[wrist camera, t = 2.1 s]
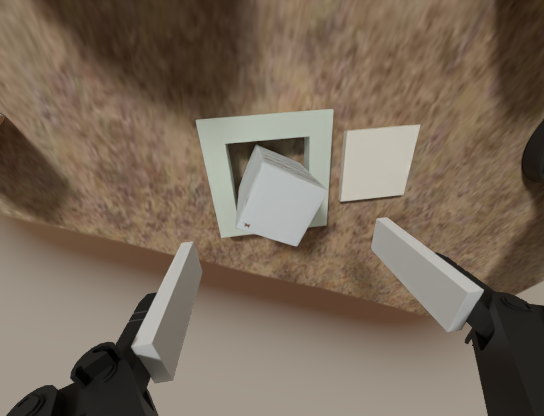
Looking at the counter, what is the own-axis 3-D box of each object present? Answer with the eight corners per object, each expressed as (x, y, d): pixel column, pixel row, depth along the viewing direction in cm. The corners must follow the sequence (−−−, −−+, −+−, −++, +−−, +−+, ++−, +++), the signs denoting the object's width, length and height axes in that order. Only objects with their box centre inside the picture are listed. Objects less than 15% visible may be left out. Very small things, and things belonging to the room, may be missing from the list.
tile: (415, 124, 30) (420, 124, 29) (399, 192, 35) (403, 194, 34) (344, 130, 29) (347, 131, 28) (338, 199, 34) (340, 201, 33)
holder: (325, 109, 27) (333, 108, 25) (320, 216, 35) (326, 225, 32) (200, 119, 26) (195, 119, 24) (223, 227, 34) (221, 237, 31)
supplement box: (280, 202, 33) (296, 250, 22) (237, 186, 31) (231, 229, 20) (300, 162, 30) (331, 191, 19) (256, 141, 28) (261, 161, 17)
